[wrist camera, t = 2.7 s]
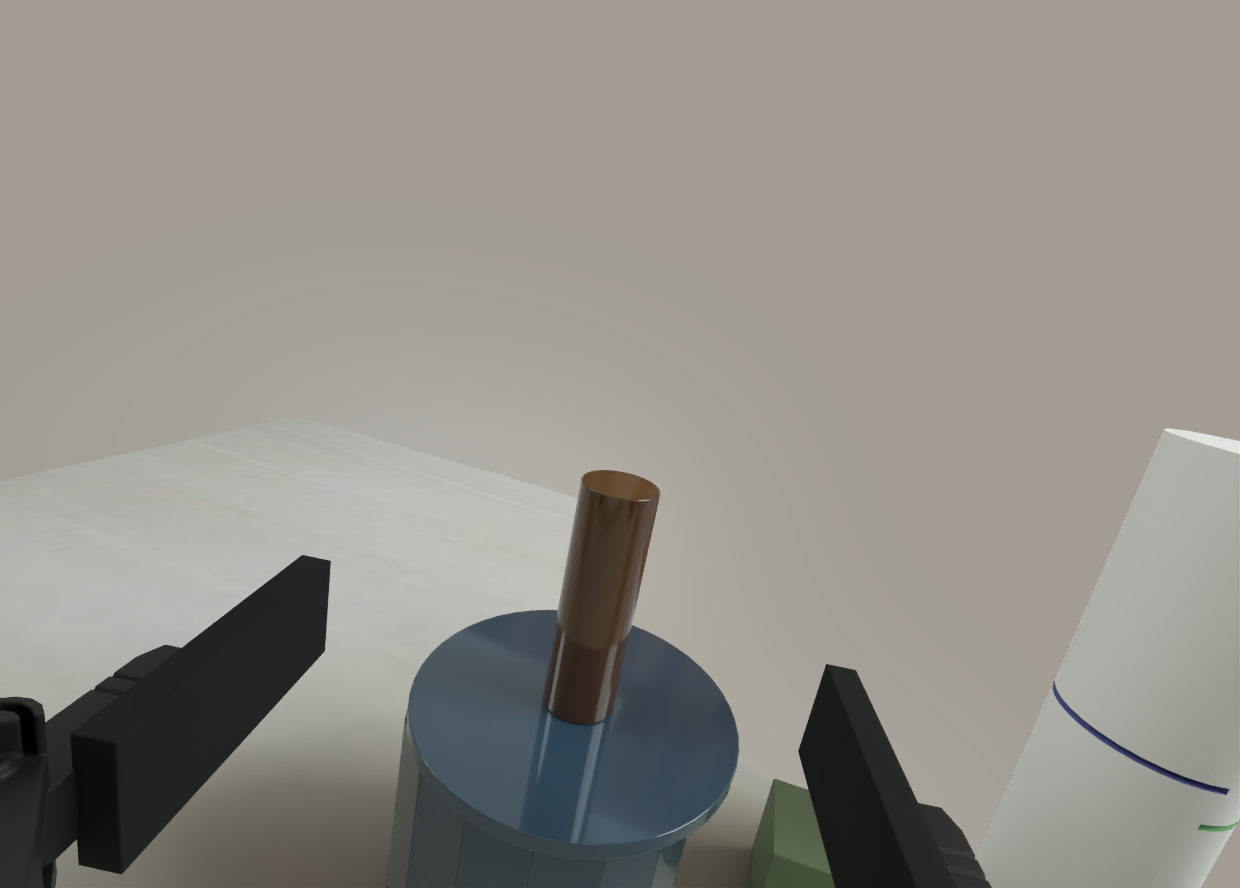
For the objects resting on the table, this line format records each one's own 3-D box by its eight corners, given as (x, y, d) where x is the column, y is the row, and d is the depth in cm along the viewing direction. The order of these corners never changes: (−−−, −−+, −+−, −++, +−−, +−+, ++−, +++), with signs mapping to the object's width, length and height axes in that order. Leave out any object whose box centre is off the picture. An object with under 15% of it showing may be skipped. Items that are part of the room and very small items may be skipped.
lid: (326, 794, 20) (347, 494, 17) (491, 604, 32) (519, 410, 29) (720, 939, 18) (818, 625, 15) (738, 678, 30) (794, 476, 27)
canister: (319, 989, 23) (336, 759, 20) (467, 766, 34) (491, 596, 31) (618, 1128, 21) (684, 892, 18) (674, 842, 32) (720, 667, 29)
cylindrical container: (945, 852, 35) (1127, 418, 28) (1085, 896, 34) (1310, 455, 27) (991, 989, 28) (1246, 459, 21) (1168, 1050, 27) (1497, 511, 20)
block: (748, 929, 28) (772, 853, 27) (752, 847, 33) (773, 777, 31) (849, 968, 28) (880, 891, 26) (840, 878, 32) (866, 808, 31)
